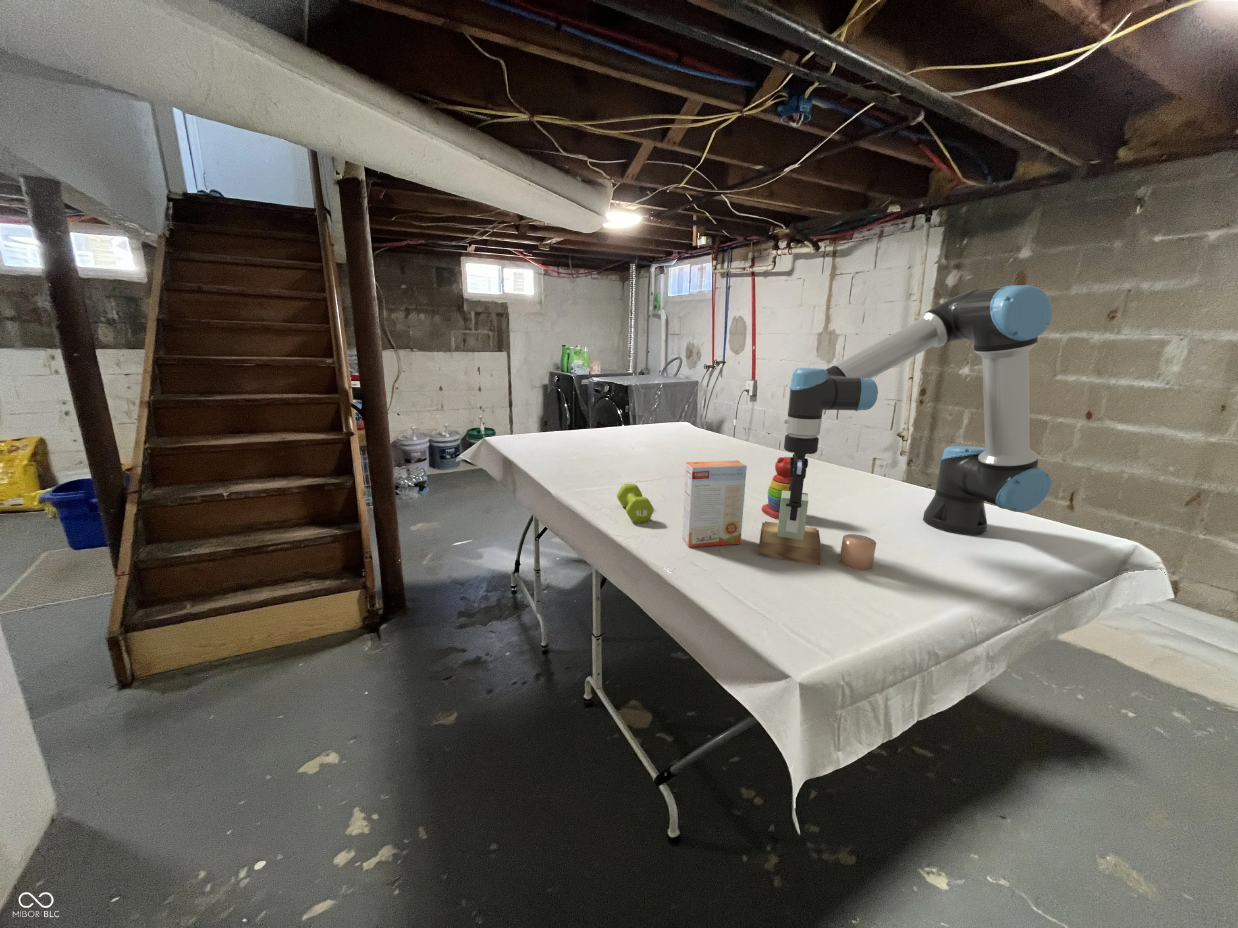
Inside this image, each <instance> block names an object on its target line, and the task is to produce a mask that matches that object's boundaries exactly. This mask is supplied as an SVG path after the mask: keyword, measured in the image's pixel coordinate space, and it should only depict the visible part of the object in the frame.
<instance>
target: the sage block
mask: <svg viewBox="0 0 1238 928" xmlns="http://www.w3.org/2000/svg"><path fill="white" fill-rule="evenodd" d="M790 492H791V491H783V490H782V496H781V504H780V513H779V519H778V522H777V523H778V532H777V536H778V537H785V538H792V539H799V540H803V539H804V531H805V527H806V522H807V515H808V514H807V513H808V508H809V507H808V506H809V494H808V493H807V492H802V500H801V504H802V505H801V507H800V515H799V523H798V531H797V533H793V532H786V531H785V529H786V521H787V512H788V506H786V504H789V502H790Z"/></svg>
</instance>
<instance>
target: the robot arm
mask: <svg viewBox="0 0 1238 928" xmlns="http://www.w3.org/2000/svg"><path fill="white" fill-rule="evenodd" d="M1051 302H1052V301H1051V299H1050V298H1049V295H1048V294H1047V293H1046V292H1044V291H1043V290H1041V289H1040V288H1039V287H1037V286H1034V285H1028V284H1027V285H1025V284H1024V285H1016V284H1011V285H1005V286H998V287H997V286H996V287H991V288H984V289H983V288H982V289H975V290H974V289H972V290H969V291H966V292H963V293H962V294H958V295H955V296H954V297H952V298H950V299H948V300H946V301H944V302H942V303H940V304H938V305H936V306H934V307H933V308H931V309H928V310H927V311H925V312H923V313H922V314H921V315H919V317H918V318H917V320H916V321H915V322H913V323H911V324H909V325H907V326H906V327H904V328H902V329H900V330H897V331H896V332H895V333H892V334H891V335H889V336H887V337H885V338H883V339H881V340H879V341H877V342H875V343H874V344H871V345H870V346H868V347H866V348H864V349H862V350H860V351H858V352H856V353H854V354H853V355H851V356H849V357H848V358H845V359H843V360H841V361H840V362H837V363H836V364H834V365H832V366H830V367H828V368H826V369H825V368H819V367H816V368H814V367H798V368H796V369H794V370H793V372H792V376H791V381H790V386H789V401H788V408H787V419H784V421H783V423H784V424H786V428H785V432H786V433H787V434H785V436H784V442H783V445H784V446H783V449H784V451H786V452H788V453H792V456H790V457H791V458H790V477H791V480H790V487H789V491H791V492H790V502H789V504H786V506H788V512H787V521H786V529H785V531H786V532H793V533H797V531H798V523H799V515H800V507H801V505H802V504H801V500H802V493H803V490H804V480H805V479H806V476H807V469H808V467H809V458H806V455H814V454H816V453H817V452H818V450H819V449H818V448H819V440H820V438H819V437H818V436H819V435H820V434H821V428H822V421H823V417H822V416H823V412H824V411H855V412H858V411H868V410H870V409H871V408H873V407H874V405H876V403H877V400H878V394H879V389H878V384H877V383H876V381H875V380H874V379H873V378H875V377H877V376H878V375H881V374H883V373H884V372H887V371H888V370H891V369H892V368H895V367H896V366H899V365H900V364H901V363H903V362H906V361H908V360H909V359H911V358H913V357H915V356H917V355H919V354H921V353H923V352H925V351H927V350H928V349H931V348H932V347H933V348H941V347H943V346H944V345H946V344H949V343H952V342H956V341H963V340H973V352H974V353H976V354H977V355H978V356H981V363H982V364H981V365H982V369H981V370H982V390H983V391H982V393H983V394H982V395H983V397H982V398H983V423H984V447H983V446H966V445H963V446H962V445H960V446H959V445H950V446H948V447H946V448H945V449H944V450H943V453H942V456H941V459H940V463H939V464H940V466H939V471H938V475H937V481H936V486H935V492H934V496H933V498H932V499H931V500H930V502H929V503H928V506H927V507H926V508H925V510H924V512H923V516H922V521H923V522H924V523H926V524H927V525H929V526H930V527H934V528H936V529H938V530H940V531H941V530H942V531H945V532H948V533H955V534H960V535H967V534H979V535H983V534H985V533H986V532H987V528H988V521H987V514H986V509H985V502H987V503H989V504H992V505H995V506H996V507H998V508H999V509H1003V510H1007V511H1010V512H1015V513H1024V512H1028V511H1031V510H1032V509H1034V508H1037V507H1038V506H1039V505H1040V504H1041V503H1042V502H1043V501H1044V500H1045V499H1046V498H1047V497H1048V496H1049V494H1050V491H1051V489H1052V477H1051V476H1050V474H1049V473H1047V471H1046V470H1044V469H1042V468H1039V456H1038V453H1037V452H1035V451H1033V450H1032V449H1031V445H1030V444H1031V442H1030V440H1031V439H1030V430H1031V429H1030V428H1031V427H1030V356H1029V355H1030V350H1032V349H1033V348H1034V347H1035V346H1036V345H1037V344H1038V337H1039V336H1041V335H1043V333H1044V332H1045V331H1046V330H1047V326H1048V325H1049V324H1050V322H1051V321H1052V316H1053V305H1052V303H1051ZM984 532H985V533H984ZM982 533H983V534H982Z"/></svg>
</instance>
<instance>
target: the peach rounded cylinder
mask: <svg viewBox="0 0 1238 928" xmlns="http://www.w3.org/2000/svg"><path fill="white" fill-rule="evenodd" d="M876 547H877V542H876V540H874V539H872V538H871V537H869V536H866V535H861V534H853V533H850V534H844V535H843V536H842V542H841V548H840V554H839V555H840V556H839V559H838V560H839V563H840V564H841V565H842V566H844V567H846V568H848V569H851V570H855V571H860V572H861V571H864V572H865V571H870V570H872V569H873V564H874V559H875V553H876Z"/></svg>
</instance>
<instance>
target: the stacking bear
mask: <svg viewBox="0 0 1238 928" xmlns="http://www.w3.org/2000/svg"><path fill="white" fill-rule="evenodd" d="M791 457H792V456H784V457H781V456H780V457H778V458H777V461H776V462H775V464H774V469H775V473H776V474H774V476H772V479H771V481H770V484H769V486H768V490H767V503H766V504H763V505H762V506H761V511H762V513H764V514H765V515H766V516H768V517H771V518H772V519H774V520H779V513H780V504H781V496H782V490H783V491H789V487H790V480H791V477H790V458H791Z"/></svg>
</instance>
